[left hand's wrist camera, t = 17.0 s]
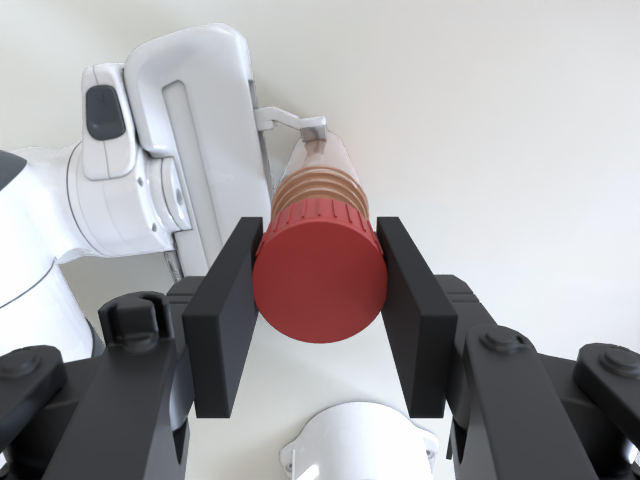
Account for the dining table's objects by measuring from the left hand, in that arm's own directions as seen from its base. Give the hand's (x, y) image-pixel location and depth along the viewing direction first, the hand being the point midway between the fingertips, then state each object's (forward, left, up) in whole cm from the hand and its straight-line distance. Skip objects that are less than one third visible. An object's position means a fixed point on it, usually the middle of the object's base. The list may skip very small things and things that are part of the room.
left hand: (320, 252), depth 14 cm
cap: (0, 0, +2) cm, 2 cm away
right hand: (-1, +1, -15) cm, 15 cm away
